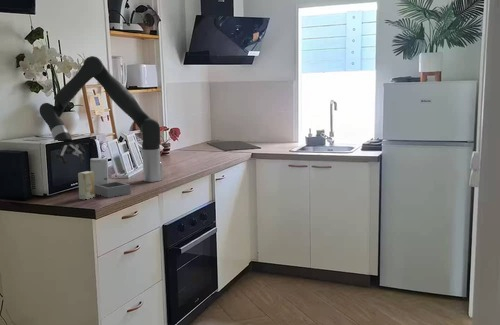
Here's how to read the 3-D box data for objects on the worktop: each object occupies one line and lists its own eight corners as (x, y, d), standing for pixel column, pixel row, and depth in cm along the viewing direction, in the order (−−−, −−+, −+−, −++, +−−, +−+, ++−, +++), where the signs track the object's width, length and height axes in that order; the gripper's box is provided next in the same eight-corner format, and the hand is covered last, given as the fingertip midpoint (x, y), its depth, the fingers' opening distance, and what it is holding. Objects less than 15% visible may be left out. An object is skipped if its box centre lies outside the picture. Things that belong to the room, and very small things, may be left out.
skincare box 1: (86, 200, 228) (84, 173, 226) (79, 199, 229) (77, 173, 227) (95, 197, 233) (94, 171, 232) (88, 196, 235) (86, 170, 233)
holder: (117, 190, 248) (117, 181, 247) (130, 193, 239) (130, 184, 238) (95, 194, 239) (94, 185, 239) (108, 198, 231) (107, 188, 230)
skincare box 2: (91, 189, 251) (89, 159, 249) (92, 186, 257) (90, 157, 255) (108, 188, 253) (106, 159, 251) (109, 185, 259) (107, 157, 256)
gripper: (49, 132, 236) (61, 159, 229) (77, 130, 246) (90, 155, 239) (45, 143, 240) (57, 169, 234) (73, 140, 250) (86, 165, 244)
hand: (74, 162), depth 237 cm, fingers open, 8 cm apart
